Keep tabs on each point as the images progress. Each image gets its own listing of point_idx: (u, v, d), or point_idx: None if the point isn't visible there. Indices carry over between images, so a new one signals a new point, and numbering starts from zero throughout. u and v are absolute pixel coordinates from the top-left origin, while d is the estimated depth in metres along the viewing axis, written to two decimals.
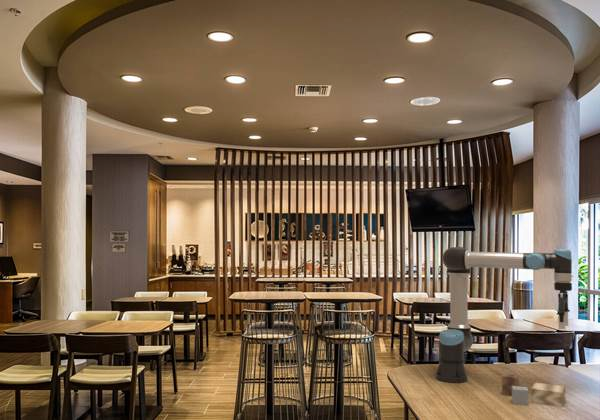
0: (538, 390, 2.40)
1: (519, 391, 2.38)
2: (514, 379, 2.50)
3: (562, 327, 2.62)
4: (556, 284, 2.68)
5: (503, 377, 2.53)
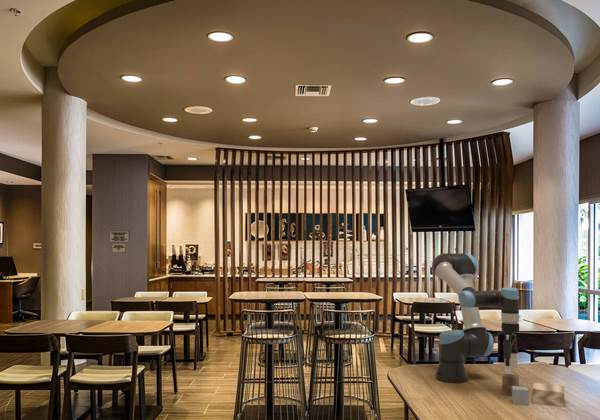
0: (539, 390, 2.39)
1: (519, 391, 2.38)
2: (514, 379, 2.50)
3: (508, 371, 2.47)
4: (503, 325, 2.54)
5: (503, 377, 2.53)
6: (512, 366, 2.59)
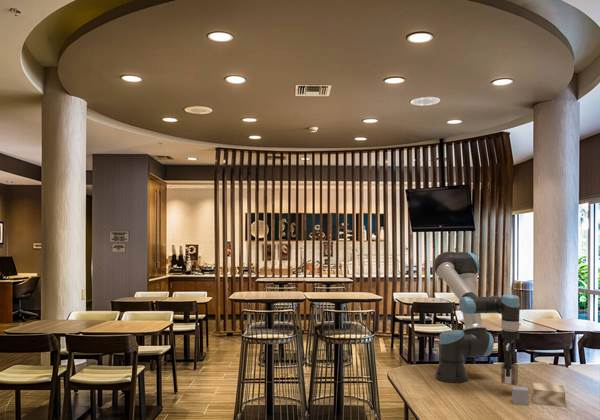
0: (540, 391, 2.39)
1: (519, 391, 2.38)
2: (513, 368, 2.51)
3: (508, 381, 2.51)
4: (503, 332, 2.54)
5: (502, 366, 2.53)
6: None
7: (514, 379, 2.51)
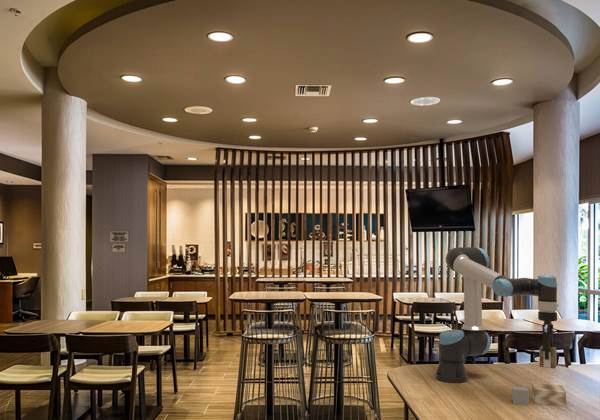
0: (541, 391, 2.38)
1: (519, 391, 2.38)
2: (552, 350, 2.40)
3: (547, 365, 2.40)
4: (540, 314, 2.44)
5: (540, 349, 2.43)
6: None
7: (553, 362, 2.40)
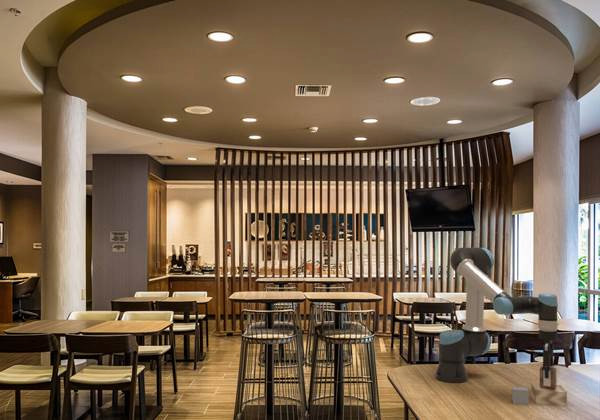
0: (542, 391, 2.38)
1: (519, 391, 2.38)
2: (552, 372, 2.40)
3: (547, 384, 2.39)
4: (540, 333, 2.43)
5: (540, 370, 2.42)
6: None
7: (554, 383, 2.39)
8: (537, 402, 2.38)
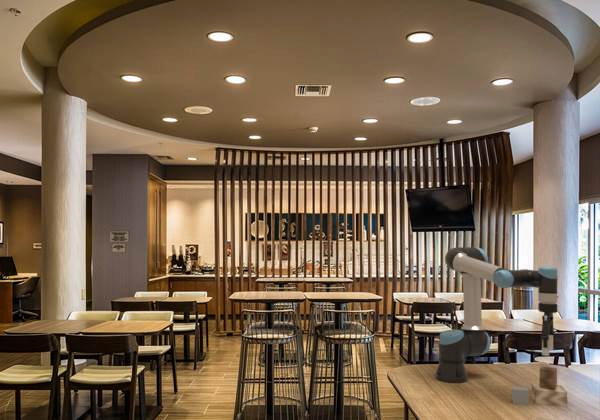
0: (543, 391, 2.38)
1: (519, 391, 2.38)
2: (552, 372, 2.40)
3: (545, 353, 2.38)
4: (540, 305, 2.44)
5: (540, 370, 2.42)
6: None
7: (553, 383, 2.39)
8: (537, 402, 2.38)
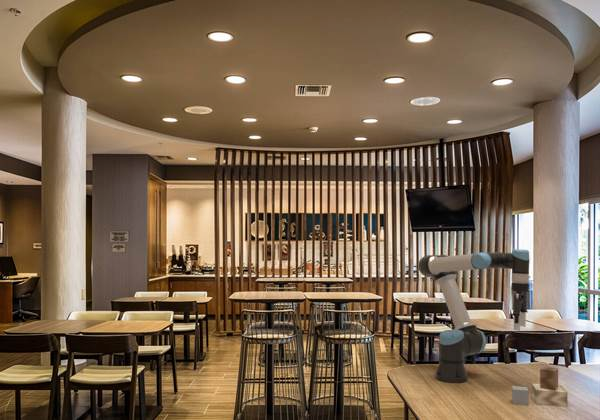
0: (543, 391, 2.38)
1: (519, 391, 2.38)
2: (553, 372, 2.40)
3: (517, 328, 2.59)
4: (513, 285, 2.64)
5: (541, 370, 2.42)
6: (521, 324, 2.70)
7: (554, 384, 2.39)
8: (538, 402, 2.38)
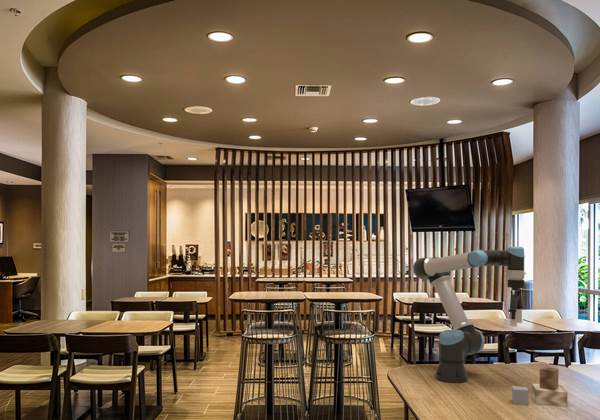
0: (543, 391, 2.38)
1: (519, 391, 2.38)
2: (552, 372, 2.39)
3: (513, 324, 2.62)
4: (509, 281, 2.68)
5: (540, 370, 2.42)
6: (517, 321, 2.74)
7: (553, 384, 2.39)
8: (538, 402, 2.38)
